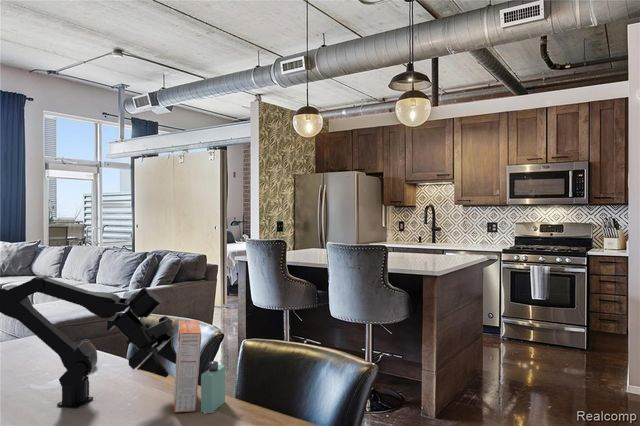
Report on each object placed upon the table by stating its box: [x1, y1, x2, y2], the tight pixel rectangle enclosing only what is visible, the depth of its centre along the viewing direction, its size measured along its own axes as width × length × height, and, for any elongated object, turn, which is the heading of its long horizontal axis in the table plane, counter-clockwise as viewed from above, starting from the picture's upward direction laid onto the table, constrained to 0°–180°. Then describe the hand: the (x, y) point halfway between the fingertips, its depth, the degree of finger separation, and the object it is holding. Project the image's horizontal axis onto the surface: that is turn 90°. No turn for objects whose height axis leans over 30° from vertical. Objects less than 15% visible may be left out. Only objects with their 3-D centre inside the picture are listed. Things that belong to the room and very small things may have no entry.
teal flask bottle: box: [200, 360, 226, 414], centre depth 126 cm, size 8×3×12 cm, turn 166°
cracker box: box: [173, 320, 202, 413], centre depth 129 cm, size 14×6×21 cm, turn 17°
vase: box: [79, 339, 98, 356], centre depth 157 cm, size 7×7×9 cm
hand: (173, 369), depth 130 cm, fingers open, 9 cm apart
